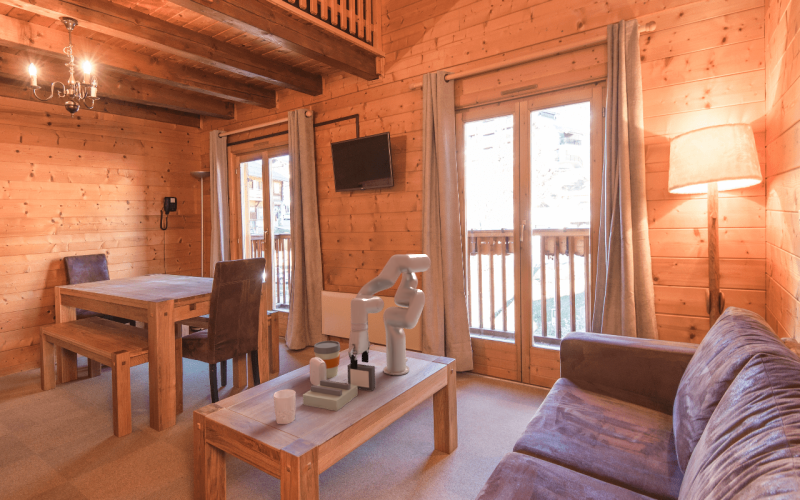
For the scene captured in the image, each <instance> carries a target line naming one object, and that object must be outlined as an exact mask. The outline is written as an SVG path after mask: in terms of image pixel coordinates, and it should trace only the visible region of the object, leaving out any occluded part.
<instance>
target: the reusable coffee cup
mask: <svg viewBox="0 0 800 500" xmlns="http://www.w3.org/2000/svg"><path fill="white" fill-rule="evenodd" d="M340 351H341V345H340V342H339V341H336V340H324V341H323V340H322V341H319V342H316V343H314V345H313V353H314V357H318V358H320V359H322V360H323V361H324V362H325V364H326V374H327V379H333V378H335V377H337V376H338V372H339V365H340V357H341V354H340Z"/></svg>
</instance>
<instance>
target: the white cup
mask: <svg viewBox="0 0 800 500" xmlns="http://www.w3.org/2000/svg"><path fill="white" fill-rule="evenodd" d="M296 393H297V392H296V391H295V390H293V389H281V390H278V391H276V392H274V393H273V407H274V414H275V421H276V423H277V424H279V425H288V424H291V423H294V421H295V420H296V401H297V400H296V396H297V395H296Z"/></svg>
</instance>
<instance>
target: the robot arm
mask: <svg viewBox="0 0 800 500" xmlns="http://www.w3.org/2000/svg"><path fill="white" fill-rule="evenodd" d="M431 264H432V261H431V258H430V257H429V256H428V255H427V254H424V253H422V254H419V253H418V254H416V253H406V254H400V253H399V254H394V255H391V257H390V258H389V259H388V260H387V262H386V264H385V265H384V266H383V268H382V270H381V271H380V273H378V275H377V276H375V277H374V278H372V279H371V280H369V281H368V282H366V283H365V284H363V286H361V288H360V290H359V291H358V293H357V294H356V295H355V297H354V298H352V299H351V300H350V333H349V340H348V350H347V353H348V357H349V360H350V363H349V364H350V368H351V369H357V368H358V364H359V363H358V359H357V358H358V356H359V355H361V362H362V363H369V353H370V345H371V341H370V340H369V314H377V313H380V312H382V311H383V309H384V307H385V302H384V300H383V298H382V297H380V296H377V295H375V294H377V293H379V292H381V291H384V290H388V289H390V288H392V287H394V285H395V284H396V283H397V281H398V279H399V277H400V276H401V280H400V284H399V286H398V287H397V290H396V291H395V295H394V296H393V297H394V298H393V300H394V304H395V305H396V306H389V307H387V308H385V310H384V311H383V315H382V318H383V324H384V329H385V330H384V331H385V354H386V358H385V359H386V360H385V362H386V366H385V367H384V368H383V373H385V374H386V375H388V376H402V375H406V374H408V373H409V372H410V367H409V366H408V365H407V362H408V361H409V360H408V358H407V352H406V350H407V349H406V348H407V346H406V344H407V343H406V333H405V329H406V330H412V329H414V328H415V327H416V326H417V324H418V322H419V320H420V317H421V315H422V312H423V310H424V306H425V305H426V294H425V292H424V291H423V290H421V289H419V288H418V283H419V280H418V276H417V274H416V273H421V272H422V273H423V272H427V271H428V270H429V269H430V267H431Z"/></svg>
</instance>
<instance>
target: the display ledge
mask: <svg viewBox="0 0 800 500" xmlns="http://www.w3.org/2000/svg"><path fill="white" fill-rule="evenodd" d="M358 390H359V389H358V386H357V385H351V384H348V382H339V381H334V380H328V379H327V380H321V381H320V384H319V385H318V386H315V385H313V384H311V386H310V390H308V391H305V393H303V394H302V405H303V406H309V407H313V408H314V407H315V408H319V409H325V410H330V411H334V412H335V411H336V412H338V411H339V410H340V409H342V408H343V407H344V406H345V405H346V404H348V403H349V402H351V400H353V399H354V398H355V397H357V396H358V395H359V393H358Z"/></svg>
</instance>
